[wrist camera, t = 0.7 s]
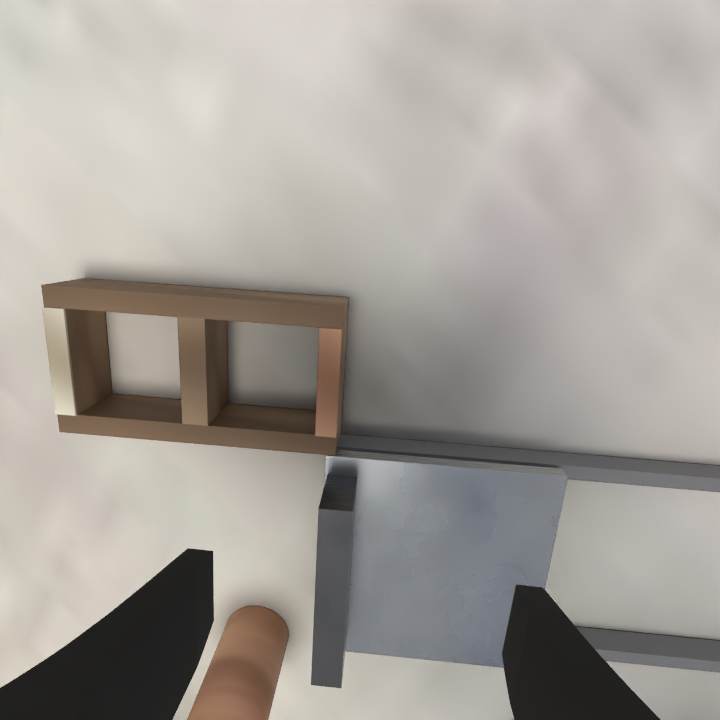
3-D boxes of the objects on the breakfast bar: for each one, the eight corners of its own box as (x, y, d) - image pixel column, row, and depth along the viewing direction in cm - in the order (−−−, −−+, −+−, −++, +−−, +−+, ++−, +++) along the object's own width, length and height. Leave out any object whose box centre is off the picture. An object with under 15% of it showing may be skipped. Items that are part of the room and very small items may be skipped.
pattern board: (793, 658, 22) (815, 682, 21) (323, 611, 23) (319, 631, 22) (865, 477, 19) (895, 493, 18) (332, 433, 20) (328, 445, 19)
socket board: (341, 429, 20) (335, 456, 18) (96, 409, 21) (57, 433, 18) (348, 297, 19) (342, 307, 16) (83, 278, 19) (39, 285, 17)
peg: (288, 659, 24) (255, 795, 18) (227, 653, 24) (176, 786, 18) (289, 609, 23) (255, 735, 17) (226, 603, 23) (171, 726, 18)
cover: (524, 658, 21) (545, 725, 18) (318, 637, 22) (307, 700, 19) (562, 468, 19) (594, 512, 16) (327, 448, 19) (316, 488, 16)
